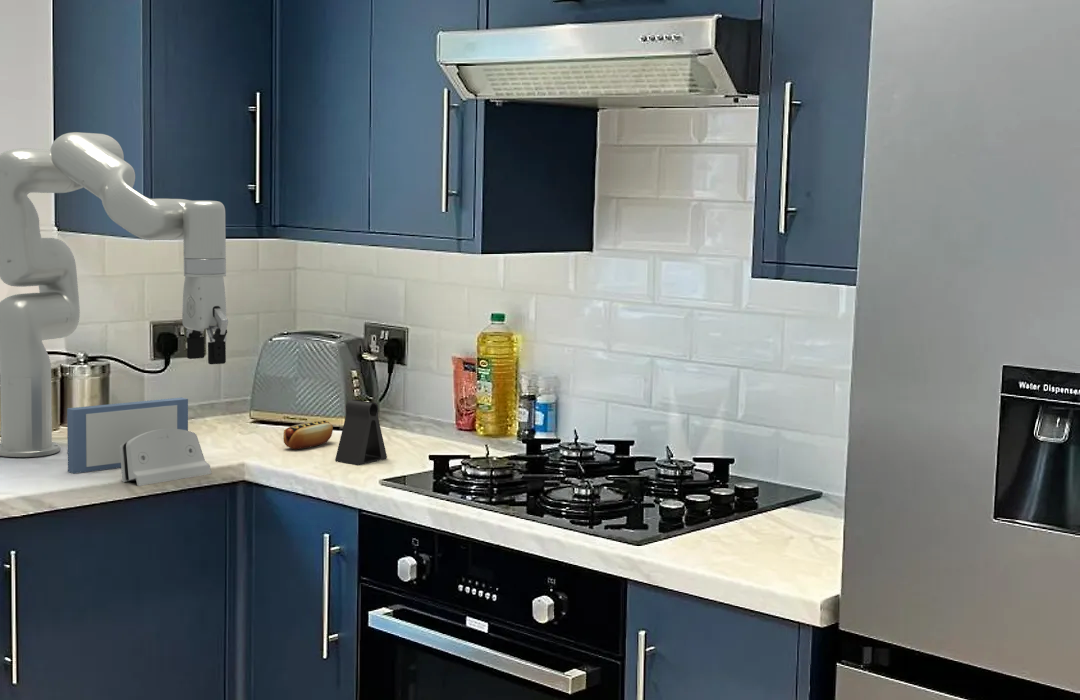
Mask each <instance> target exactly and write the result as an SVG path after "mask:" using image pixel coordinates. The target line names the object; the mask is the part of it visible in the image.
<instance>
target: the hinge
mask: <svg viewBox="0 0 1080 700" xmlns="http://www.w3.org/2000/svg"><path fill="white" fill-rule="evenodd" d="M202 450H203V449H202V447H201V443H200V441H199V438H198V435H197V433H196V432H193V431H191V430H188V431H187V430H181V429H159V430H153V431H149V432H146V433H143V434H140V435H138V436H135V437H133V438H131V439H129V440H128V441H126V442H125V443H123V444H122V445H121V446H120V458H121V468H120V469H121V478H122V479H121V480H122V483H127V482H132V481H136V485H137V486H138V487H141V486H146V485H153V484H159V483H163V482H164V483H165V482H171V481H177V480H182V479H188V478H189V479H190V478H194V477H200V476H201V477H202V476H206V475H211V474H212V471H211V466H210V464H209V463H208V462H207V460H206V459H205V456H204V453H203V451H202Z"/></svg>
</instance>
